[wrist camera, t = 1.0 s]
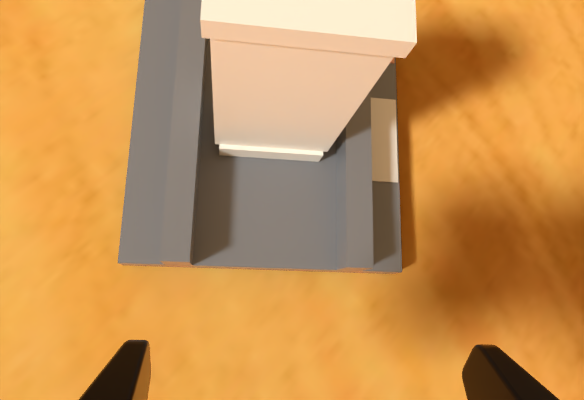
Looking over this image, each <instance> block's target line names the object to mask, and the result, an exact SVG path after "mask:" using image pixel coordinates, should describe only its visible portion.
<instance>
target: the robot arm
mask: <svg viewBox="0 0 584 400" xmlns="http://www.w3.org/2000/svg"><path fill="white" fill-rule="evenodd" d="M150 376H151V362H150V347H149V342H148V341H146V340H128V341H126V342H125V343H124V344H123V345H122V346H121V347H120V349H119V350H118V351H117V352H116V354H115V355H114V356H113V357H112V359H111V360H110V361H109V362H108V364H107V365H106V366H105V367H104V369H103V370H102V371H101V372H100V374H99V375H98V376H97V377H96V379H95V380H94V381H93V382H92V384H91V385H90V386H89V387H88V389H87V390H86V391H85V392H84V394H83V395H82V396H81V397H80V399H79V400H147V398H148V391H149V384H150ZM462 379H463V383H464V387H465V391H466V395H467V399H468V400H559V399H558V398H557V397H555V396H554V395H553V394H552V393H551V392H550V391H549V390H547V389H546V388H545V387H544V386H543V385H542V384H540V383H539V382H538V381H537V380H536V379H535V378H533V377H532V376H531V375H530V374H529V373H528V372H526V371H525V370H524V369H523V368H522V367H521V366H520V365H518V364H517V363H516V362H515V361H514V360H513V359H511V358H510V357H509V356H508V355H507V354H506V353H504V352H503V351H502V350H501V349H500V348H498V347H497V346H495V345H476V346H475V347H474V348H473V349H472V351H471V353H470V355H469V357H468V359H467V361H466V363H465V365H464V368H463V371H462Z"/></svg>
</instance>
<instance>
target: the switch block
mask: <svg viewBox="0 0 584 400" xmlns="http://www.w3.org/2000/svg"><path fill="white" fill-rule="evenodd" d="M201 2H202V0H145V5H144V15H143V24H142V34H141V44H140V53H139V63H138V72H137V82H136V92H135V101H134V111H133V121H132V130H131V140H130V149H129V159H128V169H127V178H126V188H125V197H124V207H123V217H122V226H121V236H120V246H119V255H118V263H119V264H122V265H135V266H166V267H197V268H229V269H260V270H291V271H322V272H354V273H385V274H395V273H401V272H402V253H401V220H400V188H399V155H398V122H397V89H396V57H394V58H393V59H392V61H391V62H390V63H389V65H388V66H387V68H386V69H385V71H384V72H383V73H382V75H381V76H380V78H379V79H378V81H377V82H376V83H375V85H374V86H373V88H372V89H371V90H370V92H369V93H368V95H367V96H366V98H365V99H364V100H363V102H362V103H361V105H360V106H359V108H358V109H357V110H356V112H355V113H354V115H353V116H352V117H351V119H350V120H349V122H348V123H347V125H346V126H345V127H344V129H343V130H342V132H341V133H340V135H339V136H338V137H337V139H336V140H335V142H334V143H333V144H332V146H331V147H330V149H329V150H328V152H323V157H322V158H321V159H320V161H319V162H313V161H298V160H283V159H268V158H252V157H237V156H222V155H219V144H215V135H214V113H213V92H212V70H211V48H210V39H208V38H202V37H201V24H200V15H201Z"/></svg>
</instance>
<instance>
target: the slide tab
mask: <svg viewBox="0 0 584 400" xmlns="http://www.w3.org/2000/svg"><path fill="white" fill-rule="evenodd" d="M200 24H201V37H202V38H208V39H210V48H211V70H212V92H213V113H214V135H215V144H219V155H222V156H237V157H252V158H268V159H283V160H298V161H313V162H319V161H320V159H321V158H322V157H323V152H328V150H329V149H330V147H331V146H332V144H333V143H334V142H335V140H336V139H337V137H338V136H339V135H340V133H341V132H342V130H343V129H344V127H345V126H346V125H347V123H348V122H349V120H350V119H351V117H352V116H353V115H354V113H355V112H356V110H357V109H358V108H359V106H360V105H361V103H362V102H363V100H364V99H365V98H366V96H367V95H368V93H369V92H370V90H371V89H372V88H373V86H374V85H375V83H376V82H377V81H378V79H379V78H380V76H381V75H382V73H383V72H384V71H385V69H386V68H387V66H388V65H389V63H390V62H391V61H392V59H393V58H394V57H398V58H406V57H407V55H408V54H409V53H410V51H411V50H412V49H413V47H414V46H415V45H416V43H417V31H416V7H415V0H202V2H201V15H200Z"/></svg>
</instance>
